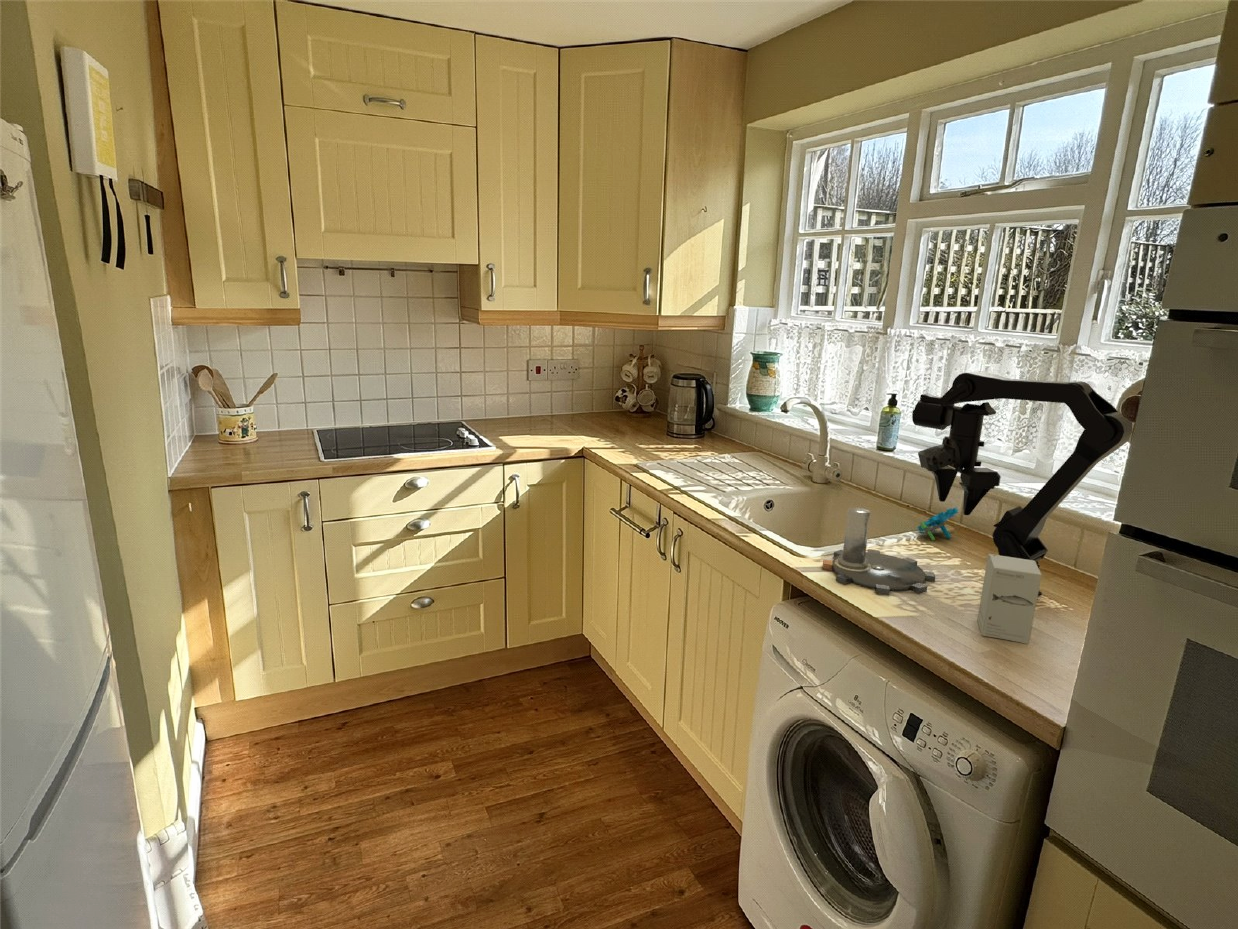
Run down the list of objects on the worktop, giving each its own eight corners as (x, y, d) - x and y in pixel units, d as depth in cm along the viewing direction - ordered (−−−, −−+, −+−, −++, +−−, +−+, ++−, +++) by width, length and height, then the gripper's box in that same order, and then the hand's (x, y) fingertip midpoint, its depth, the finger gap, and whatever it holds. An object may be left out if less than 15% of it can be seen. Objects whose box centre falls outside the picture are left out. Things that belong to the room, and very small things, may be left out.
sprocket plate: (925, 561, 156) (926, 554, 156) (943, 601, 136) (944, 595, 136) (822, 549, 161) (822, 543, 161) (823, 587, 141) (824, 580, 141)
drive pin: (874, 565, 149) (880, 512, 146) (856, 572, 145) (863, 517, 143) (849, 556, 154) (855, 504, 151) (831, 562, 150) (837, 509, 147)
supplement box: (980, 636, 123) (992, 567, 120) (976, 618, 129) (987, 552, 126) (1029, 645, 120) (1042, 574, 117) (1023, 626, 127) (1035, 559, 124)
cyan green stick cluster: (937, 520, 179) (963, 501, 171) (951, 541, 177) (978, 523, 169) (904, 531, 175) (929, 512, 167) (918, 553, 172) (944, 535, 164)
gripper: (904, 424, 155) (895, 495, 158) (952, 444, 137) (940, 522, 140) (954, 425, 156) (943, 495, 160) (1008, 444, 138) (994, 522, 142)
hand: (953, 508), depth 150 cm, fingers open, 9 cm apart
